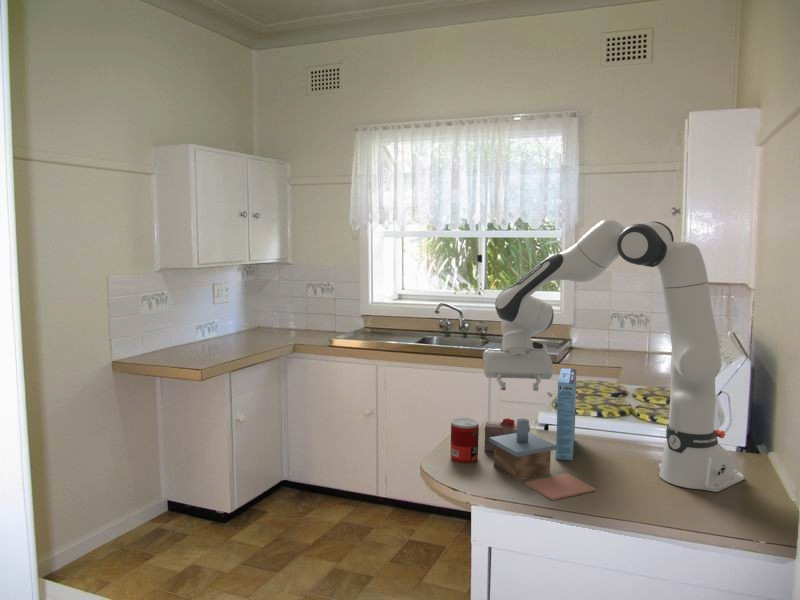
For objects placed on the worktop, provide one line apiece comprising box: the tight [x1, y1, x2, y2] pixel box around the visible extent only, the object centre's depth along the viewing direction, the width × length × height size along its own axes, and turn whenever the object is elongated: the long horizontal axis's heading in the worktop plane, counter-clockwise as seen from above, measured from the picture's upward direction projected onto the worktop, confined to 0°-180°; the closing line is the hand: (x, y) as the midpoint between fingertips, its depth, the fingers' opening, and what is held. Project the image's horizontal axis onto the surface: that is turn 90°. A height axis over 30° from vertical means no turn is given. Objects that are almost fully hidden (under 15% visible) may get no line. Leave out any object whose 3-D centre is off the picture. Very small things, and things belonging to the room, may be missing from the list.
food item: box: [483, 417, 531, 453], centre depth 195 cm, size 14×8×10 cm, turn 75°
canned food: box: [450, 417, 480, 464], centre depth 189 cm, size 8×8×11 cm
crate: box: [493, 444, 552, 481], centre depth 181 cm, size 11×11×7 cm
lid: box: [489, 418, 556, 457], centre depth 180 cm, size 13×13×8 cm
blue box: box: [555, 368, 577, 462], centre depth 196 cm, size 20×5×23 cm, turn 163°
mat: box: [524, 473, 597, 501], centre depth 170 cm, size 14×11×1 cm
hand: (519, 389), depth 190 cm, fingers open, 8 cm apart
